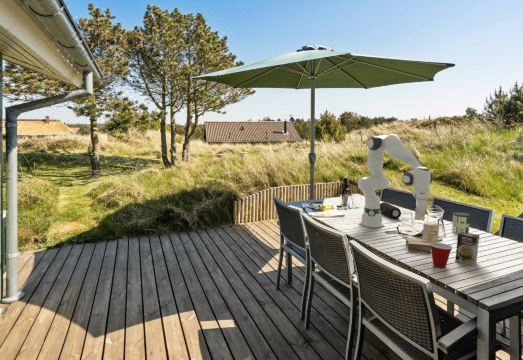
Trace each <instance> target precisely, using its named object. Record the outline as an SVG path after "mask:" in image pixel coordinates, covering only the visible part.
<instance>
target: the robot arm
mask: <svg viewBox="0 0 523 360" xmlns="http://www.w3.org/2000/svg"><path fill="white" fill-rule="evenodd" d="M367 147H368V154H367V163H366V168H367V170H368V171H370V173H371V176H364V177H361V178H359V179H358V180H357V187H358V189H359V190H360V191H361V192H362V194H363V196H364V208H363V212H362V213H361V220H360V221H359V222H358V224H359V225H362V226H363V227H366V228H373V229H374V228H381V227H383V228H385V224H384V223H383V215H382V214H381V211H380V204H381V197H380V196H378V195H377V194H376V191H381V190H384V189H387V188H389V184H390V180H389V179H388V177H387V176H386V175H385V174H384V169H383V168H384V167H383V165H384V153H385V152H387V154H388V155H389V156H390V157H391V159H392V160H394V161H397V162H403V163H406V164H408V165H410V166H411V168H412V170H408V171H405V172H404V173H403V175H402V184H403V185H405V186H407V187H413V190H412V196H413V197H414V199H415V200H416V201H415V205H416V208H417V209H418V211H419V215H418V216H419V217H422V213H423V212H425V213H426V210H427V209H426V208H427V204H428V203H427V202H428V200H429V198H430V194H431V193H430V191H431V188H430V185H431V184H432V182H433V181H434V176H433V173H431V170H430V168H428V167H427V166H425V165H424V164H423V163H422V162H421V160H420V159H419V158H418V157H417V156H416V155H415V154H414V153H413V152H412V151H410V150H409V149H408V148H407V147H406V146H405V144H404V143H403V141H402V139H400V137H399V136H398V135H397V134H394V133H390V134H388V135H386V134H385V135H373V136H371V137H369V138H368V141H367Z"/></svg>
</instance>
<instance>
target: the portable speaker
mask: <svg viewBox="0 0 523 360" xmlns="http://www.w3.org/2000/svg"><path fill="white" fill-rule="evenodd" d="M380 213H382V214H384V215H386V216H387V217H389V218H391V219H399V218H400V217H401V216H402V211H401V209H400V208H399V207H398V206H395V205H393V204H391V203H388V202H386V201H385V202H380Z"/></svg>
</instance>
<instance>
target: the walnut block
mask: <svg viewBox="0 0 523 360" xmlns="http://www.w3.org/2000/svg"><path fill="white" fill-rule="evenodd" d="M405 246H406V249H407V248H408V249H407V250H408V252H414V251H416V253H427V254H432V252H431V246H430V243H429V242H428V240H427V239H423V238H418V237H417V238H415V237H407V236H406V238H405Z"/></svg>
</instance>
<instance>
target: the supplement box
mask: <svg viewBox="0 0 523 360" xmlns="http://www.w3.org/2000/svg"><path fill="white" fill-rule="evenodd" d="M422 227H423V228H422V239H427V240H428V242H429V243H432V242H436V243H439V242H438V241H439V229H440V223H437V222H427V223H426V222H425V223H423V226H422Z"/></svg>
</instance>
